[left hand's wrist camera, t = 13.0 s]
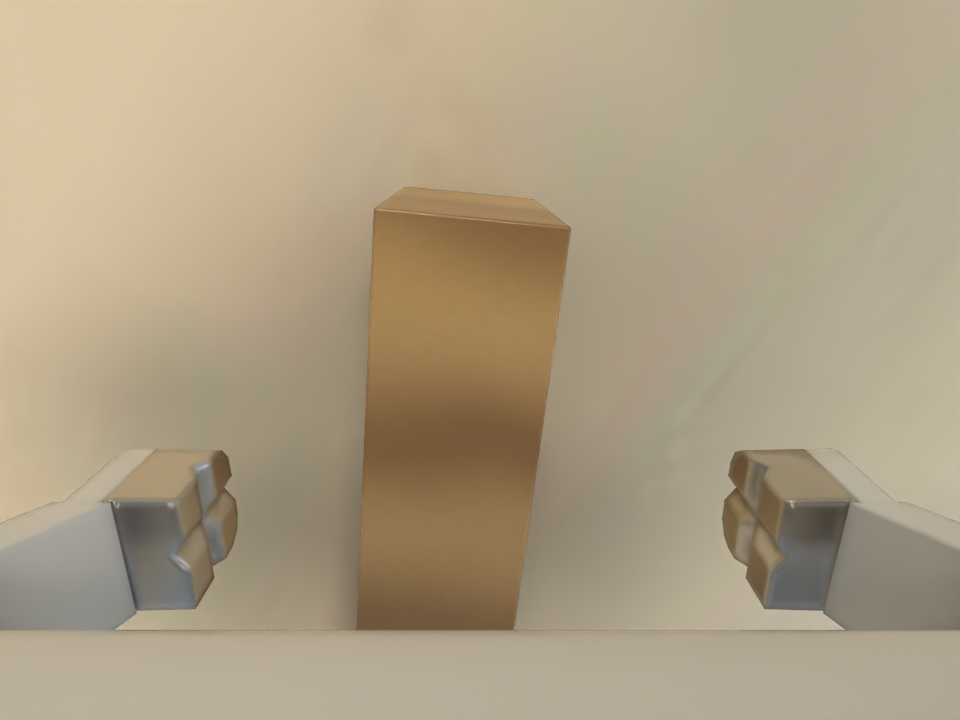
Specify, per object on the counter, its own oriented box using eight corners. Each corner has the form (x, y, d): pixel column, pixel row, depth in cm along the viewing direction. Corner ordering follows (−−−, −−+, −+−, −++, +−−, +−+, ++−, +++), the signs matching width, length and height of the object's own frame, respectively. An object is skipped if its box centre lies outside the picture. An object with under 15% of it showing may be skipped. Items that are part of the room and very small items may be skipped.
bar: (404, 186, 25) (373, 207, 16) (534, 199, 25) (571, 226, 17) (376, 686, 34) (345, 875, 25) (474, 691, 34) (478, 880, 25)
